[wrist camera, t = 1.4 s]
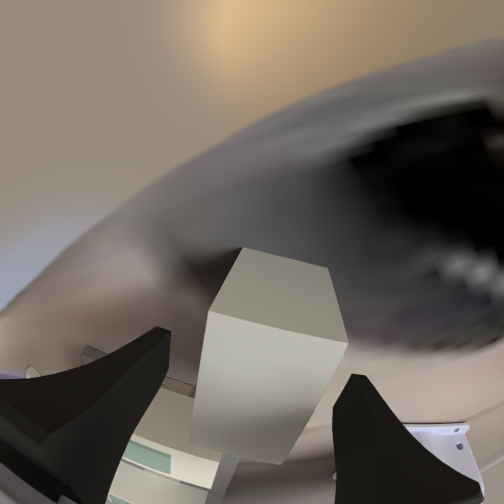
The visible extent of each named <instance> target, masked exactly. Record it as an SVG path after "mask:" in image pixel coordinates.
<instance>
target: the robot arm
mask: <svg viewBox="0 0 504 504" xmlns="http://www.w3.org/2000/svg"><path fill="white" fill-rule="evenodd" d="M170 340H171V331H169V330H166V329H163V328H160V327H155V328H153V329H151V330H150V331H148V332H147V333H145V334H143V335H142V336H140V337H138V338H137V339H135V340H133V341H132V342H130V343H128V344H127V345H125V346H123V347H121V348H119V349H118V350H116V351H114V352H112V353H110V354H108V355H106V356H104V357H102V358H100V359H98V360H95V361H93V362H91V363H88V364H85V365H83V366H80V367H77V368H74V369H71V370H67V371H63V372H59V373H55V374H51V375H46V376H40V377H33V378H25V379H0V504H105V502H106V499H107V496H108V493H109V490H110V487H111V484H112V482H113V479H114V476H115V474H116V471H117V468H118V466H119V464H120V461H121V459H122V456H123V454H124V452H125V449H126V447H127V445H128V443H129V440H130V438H131V436H132V434H133V432H134V430H135V429H136V427H137V425H138V424H139V422H140V420H141V419H142V417H143V415H144V414H145V412H146V411H147V409H148V407H149V406H150V404H151V402H152V401H153V399H154V397H155V396H156V394H157V392H158V391H159V389H160V387H161V385H162V383H163V380H164V378H165V376H166V373H167V371H168V369H169V353H170ZM469 427H470V426H469V424H468V423H454V424H402V423H401V422H400V420H399V419H398V418H397V417H396V415H395V414H394V413H393V412H392V410H391V409H390V408H389V406H388V405H387V404H386V402H385V401H384V400H383V398H382V397H381V395H380V394H379V393H378V391H377V390H376V389H375V387H374V386H373V384H372V383H371V382H370V380H369V379H368V378H367V377H366V376H365V375H358V374H351V376H350V378H349V380H348V382H347V384H346V385H345V387H344V389H343V391H342V392H341V394H340V396H339V398H338V399H337V401H336V403H335V404H334V406H333V417H332V433H333V444H334V454H335V465H336V472H335V473H334V474H333V479H334V480H336V494H335V504H482V502H483V500H484V484H483V481H482V477H481V475H480V472H479V469H478V467H477V464H476V461H475V459H474V456H473V454H472V451H471V449H470V447H469V444H468V442H467V439H466V437H465V435H464V434H465V432H466V431H467V430H468V429H469Z"/></svg>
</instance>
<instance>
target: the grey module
mask: <svg viewBox="0 0 504 504" xmlns="http://www.w3.org/2000/svg"><path fill="white" fill-rule="evenodd" d="M347 345H348V340H347V336H346V332H345V328H344V324H343V321H342V317H341V313H340V309H339V306H338V302H337V299H336V295H335V292H334V288H333V285H332V281H331V278H330V274H329V271H328V268H324V267H320V266H316V265H312V264H308V263H304V262H300V261H296V260H292V259H288V258H284V257H280V256H276V255H272V254H268V253H264V252H260V251H256V250H252V249H248V248H244V247H243V248H242V250H241V252H240V254H239V256H238V257H237V259H236V261H235V263H234V265H233V267H232V268H231V270H230V272H229V274H228V276H227V278H226V279H225V281H224V283H223V285H222V287H221V289H220V290H219V292H218V294H217V296H216V298H215V300H214V302H213V303H212V305H211V307H210V309H209V311H208V317H207V323H206V329H205V335H204V341H203V348H202V354H201V360H200V367H199V373H198V380H197V387H196V394H195V401H194V408H193V415H192V422H191V430H190V438H189V444H190V445H194V446H197V447H200V448H204V449H207V450H211V451H215V452H219V453H223V454H227V455H231V456H235V457H240V458H245V459H249V460H254V461H260V462H265V463H271V464H277V465H281V464H282V463H283V461H284V460H285V458H286V457H287V455H288V453H289V452H290V450H291V449H292V447H293V446H294V444H295V442H296V441H297V439H298V437H299V436H300V434H301V433H302V431H303V429H304V427H305V426H306V424H307V422H308V421H309V419H310V417H311V415H312V414H313V412H314V410H315V408H316V407H317V405H318V403H319V401H320V399H321V397H322V396H323V394H324V392H325V390H326V388H327V386H328V384H329V382H330V380H331V378H332V376H333V374H334V372H335V370H336V368H337V366H338V364H339V362H340V360H341V358H342V356H343V354H344V352H345V350H346V348H347Z"/></svg>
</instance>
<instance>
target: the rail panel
mask: <svg viewBox="0 0 504 504" xmlns="http://www.w3.org/2000/svg"><path fill="white" fill-rule="evenodd" d="M106 355H108V354H105V353H103V352H101V351H99V350H96V349H94V348H92V347H90V346H88V347H87V348H86V349H85V350H84V351H83V352H82V353H81V358H82V364H83V365H85V364H88V363H91V362H93V361H95V360H98V359H100V358H102V357H104V356H106ZM195 394H196V387H195V386H192V385H188V384H185V383H182V382H179V381H176V380H173V379H170V378H167V377H165V378H164V380H163V383H162V385H161V387H160V389H159V391H158V392H157V394H156V396H155V397H154V399H153V401H152V402H151V404H150V406H149V407H148V409H147V411H146V412H145V414H144V415H143V417H142V419H141V420H140V422H139V424H138V425H137V427H136V429H135V430H134V432H133V434H132V436H131V438H130V440H129V443H128V445H127V447H126V449H125V452H124V454H123V456H122V459H121V461H120V464H119V466H118V468H117V471H116V474H115V476H114V479H113V482H112V484H111V487H110V490H109V493H108V496H107V497H108V498H109V500H110V502H113V503H115V504H205V503H206V504H220V503H221V501H222V498H223V496H224V494H225V492H226V490H227V488H228V485H229V483H230V481H231V479H232V476H233V474H234V472H235V470H236V467H237V465H238V463H239V460H240V457H235V456H231V455H227V454H223V453H219V452H215V451H211V450H207V449H204V448H200V447H197V446H194V445H190V444H189V438H190V430H191V422H192V415H193V408H194V401H195Z"/></svg>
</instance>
